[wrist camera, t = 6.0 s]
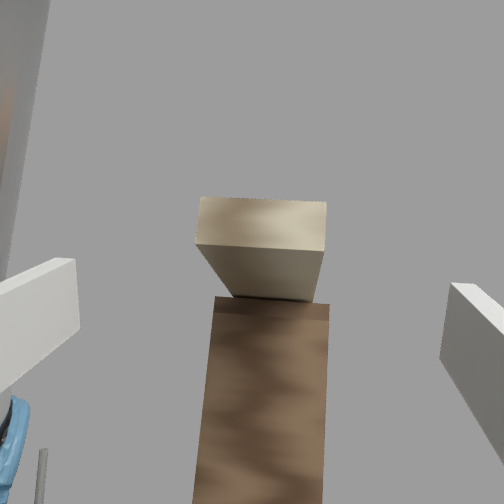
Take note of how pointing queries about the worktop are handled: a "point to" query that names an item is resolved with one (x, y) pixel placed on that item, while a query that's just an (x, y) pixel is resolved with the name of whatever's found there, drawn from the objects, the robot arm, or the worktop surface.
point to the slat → (263, 246)
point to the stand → (264, 404)
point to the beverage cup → (41, 476)
